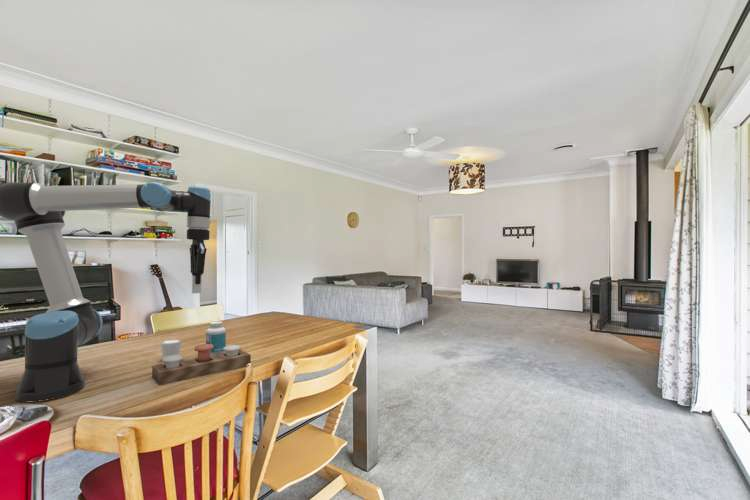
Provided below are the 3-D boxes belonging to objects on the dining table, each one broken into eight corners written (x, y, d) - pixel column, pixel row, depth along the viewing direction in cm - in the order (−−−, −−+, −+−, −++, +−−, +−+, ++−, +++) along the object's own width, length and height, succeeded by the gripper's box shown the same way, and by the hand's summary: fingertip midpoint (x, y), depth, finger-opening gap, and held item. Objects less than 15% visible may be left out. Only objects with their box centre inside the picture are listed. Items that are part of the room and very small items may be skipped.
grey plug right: (226, 366, 129) (227, 350, 129) (220, 362, 133) (221, 346, 133) (243, 363, 133) (243, 347, 133) (236, 359, 137) (236, 344, 137)
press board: (159, 385, 112) (159, 372, 112) (151, 377, 119) (152, 365, 119) (250, 365, 133) (250, 354, 133) (239, 359, 140) (239, 349, 140)
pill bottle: (229, 353, 148) (229, 321, 149) (219, 358, 141) (220, 324, 141) (212, 352, 149) (212, 320, 149) (201, 357, 142) (202, 324, 142)
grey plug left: (164, 379, 115) (165, 361, 115) (160, 374, 119) (160, 357, 119) (184, 375, 119) (185, 357, 119) (179, 370, 123) (180, 353, 123)
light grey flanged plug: (165, 363, 134) (165, 344, 134) (157, 359, 138) (158, 341, 139) (184, 358, 140) (184, 341, 140) (176, 355, 144) (176, 338, 144)
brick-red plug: (197, 366, 122) (197, 349, 122) (192, 362, 126) (192, 346, 126) (215, 363, 126) (215, 346, 126) (209, 359, 130) (210, 343, 130)
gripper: (214, 229, 128) (212, 294, 127) (204, 230, 137) (202, 290, 137) (192, 227, 123) (190, 295, 122) (182, 229, 132) (180, 291, 132)
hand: (196, 292), depth 130 cm, fingers closed
